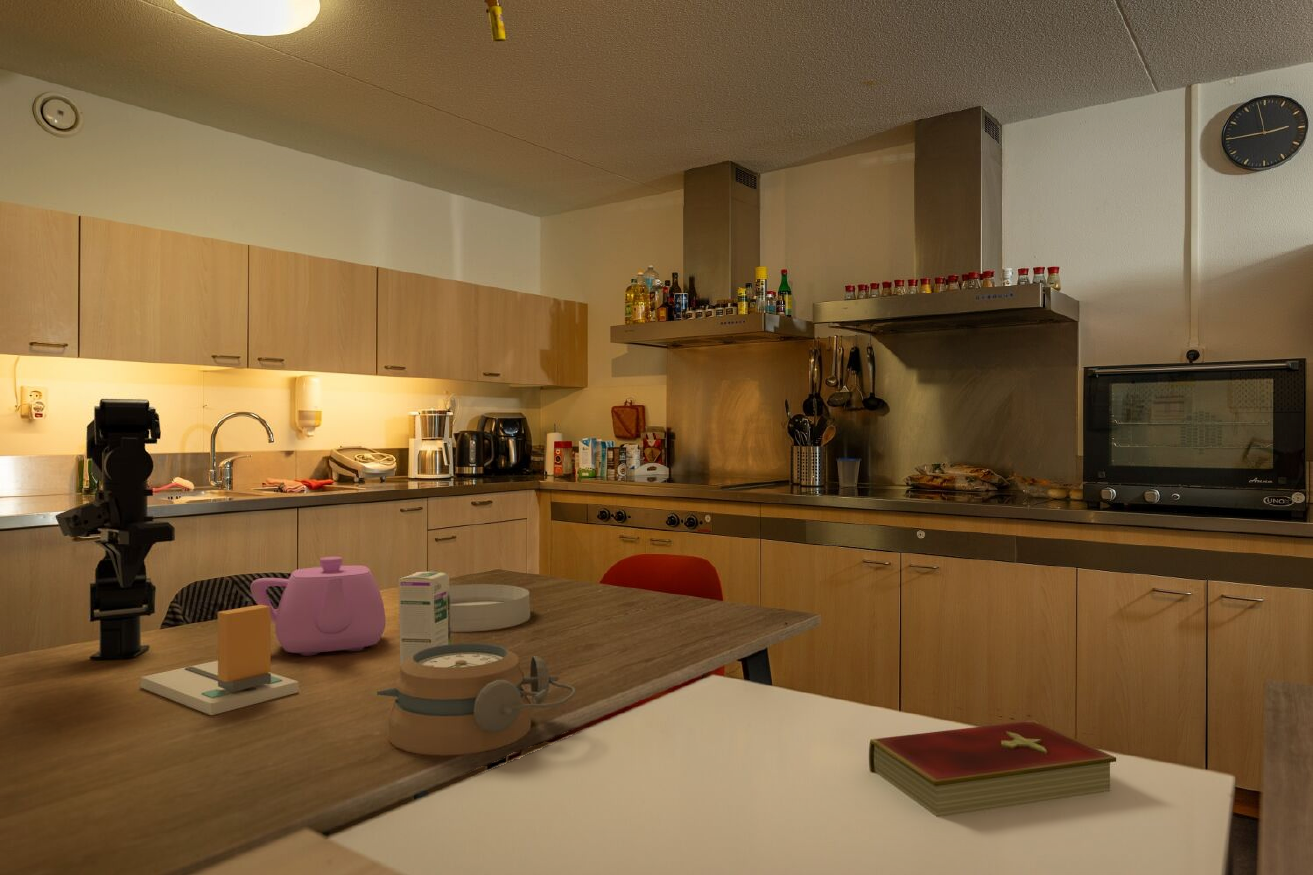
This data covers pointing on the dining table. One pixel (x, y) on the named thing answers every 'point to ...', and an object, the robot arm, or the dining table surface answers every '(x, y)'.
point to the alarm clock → (465, 699)
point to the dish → (487, 607)
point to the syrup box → (423, 612)
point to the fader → (244, 647)
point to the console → (213, 689)
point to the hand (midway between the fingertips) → (125, 587)
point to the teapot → (325, 608)
